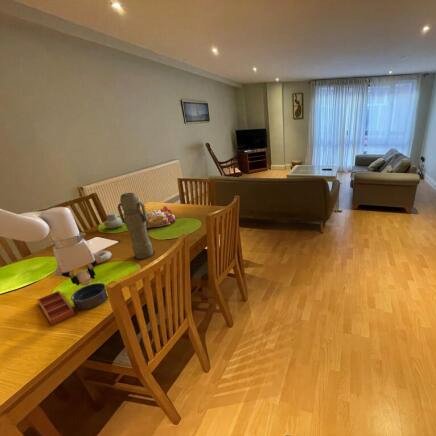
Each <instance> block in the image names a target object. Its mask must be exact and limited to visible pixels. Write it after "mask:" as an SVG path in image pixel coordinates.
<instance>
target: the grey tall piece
mask: <svg viewBox="0 0 436 436" xmlns="http://www.w3.org/2000/svg"><path fill="white" fill-rule="evenodd" d="M119 200H120V201H119V203H118V204H117V210H118V214H119V218H120V219H121V220H122V223H123V224H124V225H125V227H126V229H127V230H128V233H129V237H130V240H131V243H132V246H131V247H132V251H133V254H134V256H135V259H137V260H145V259H148V258H150V257H152V256H153V255H154V250H153V244H152V241H151V240H150V238H149V234H148V230H147V228H146V222H145V221H146V220H147V219H148V218H147V211H146V210H147V209H146V206H145V203H143V201H139V198H138V196H137V195H136V193H135V192H125V193H122V194H121V195H120V199H119Z"/></svg>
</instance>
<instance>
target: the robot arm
mask: <svg viewBox="0 0 436 436" xmlns="http://www.w3.org/2000/svg"><path fill="white" fill-rule="evenodd" d="M48 235H50V237H51V239H52V242H53V244H54V246H52V252H53V255H54V259H55V261H56V264H57V266H56V267H55V270H54V272H53V275H54V276H56V277H65V278H69V279H70V280H71V283H72V284H73V285H76V286H80V284H79V282H78V280H77V278H76V274H74V270H77V269H79V268H82V267H85V266H87V269H86V270H87V271H89V272H90V275H91V277H92V280H95V279H96V277H95V276H96V275H97V274H96V272H95V267H96V265H97V262H98V261H99V260H100V259H101V257H99V256H97V255H95V254H93V253H92V251H91V249H90V247H89V246H88V244H87V242H86V241H87V240H86V239H84V237H85V236H86V233H85V232H80V230H79V228H78V225H77V223H76V220H75V218H74V215H73V213H72V211H71V209H70V208H69V207H66V206H57V207H51V208H49V209H46V210H39V211H29V212H23V213H19V214H18V213H15V212H12V211H8V210H5V209H2V208H0V238H5V239H6V238H7V239H11V240H15V241H21V242H27V243H32V242H39V241H42V240H43V239H45V238H46V237H47V236H48Z"/></svg>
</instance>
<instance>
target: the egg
mask: <svg viewBox="0 0 436 436" xmlns="http://www.w3.org/2000/svg"><path fill="white" fill-rule="evenodd" d="M75 276H76V278H77V280H78V282H79V286H87V285H90V284H91V283H92V281H93V279H92V277H91V275H90V272H89V271H88V270H87V269H81V270H78V271H77V272H76V273H75Z"/></svg>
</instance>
